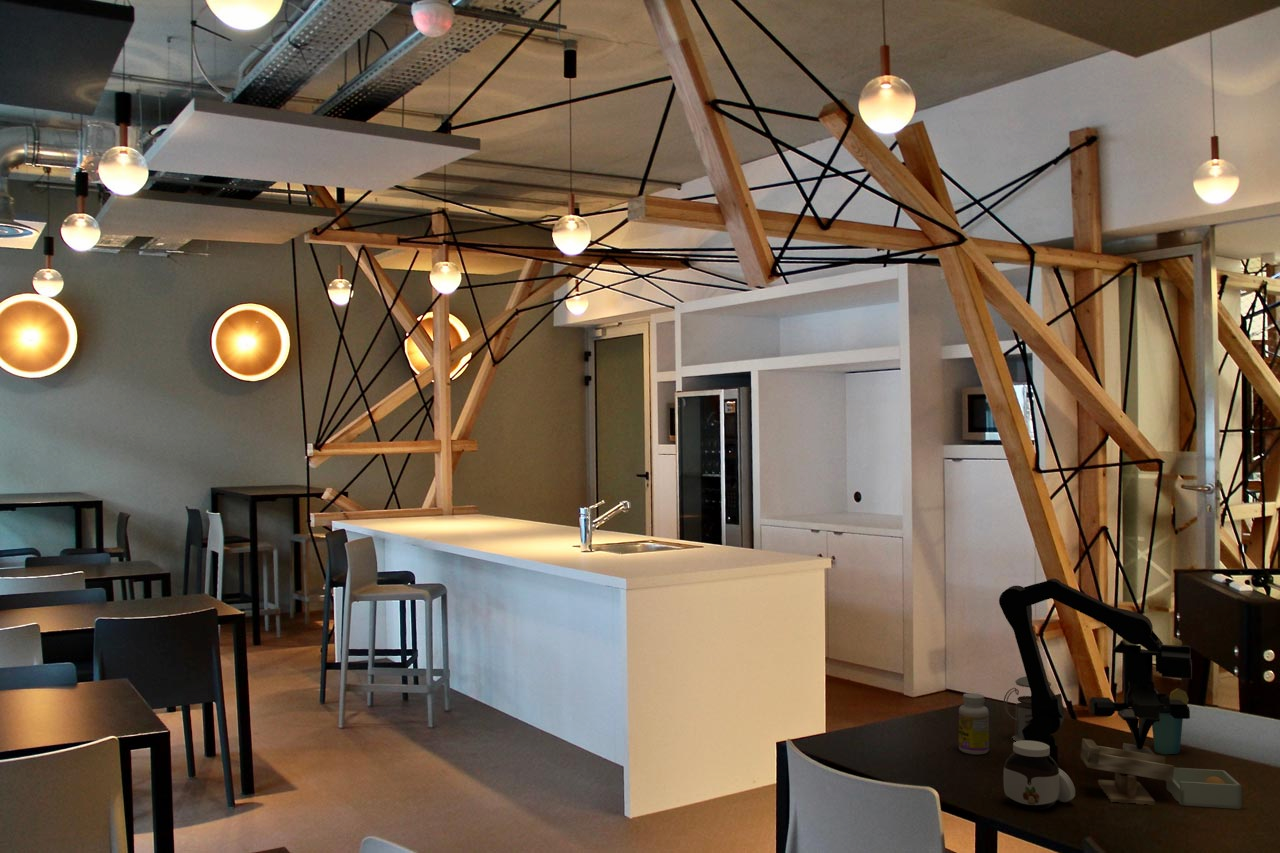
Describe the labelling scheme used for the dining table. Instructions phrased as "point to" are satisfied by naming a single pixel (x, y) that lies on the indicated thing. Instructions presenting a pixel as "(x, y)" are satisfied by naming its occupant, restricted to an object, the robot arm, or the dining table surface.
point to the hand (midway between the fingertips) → (1139, 748)
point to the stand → (1126, 790)
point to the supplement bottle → (973, 725)
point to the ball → (1214, 780)
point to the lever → (1126, 760)
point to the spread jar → (1035, 777)
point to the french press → (1021, 709)
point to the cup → (1169, 728)
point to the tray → (1205, 788)
